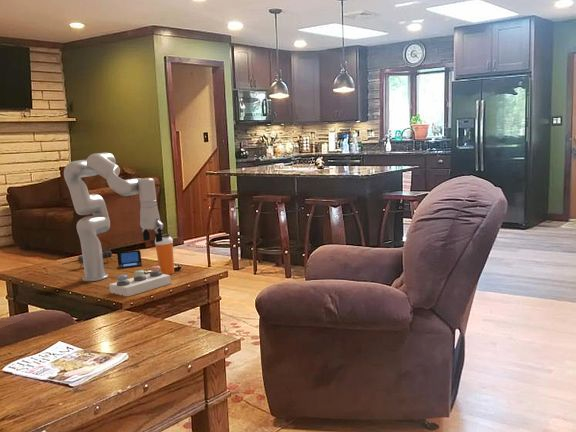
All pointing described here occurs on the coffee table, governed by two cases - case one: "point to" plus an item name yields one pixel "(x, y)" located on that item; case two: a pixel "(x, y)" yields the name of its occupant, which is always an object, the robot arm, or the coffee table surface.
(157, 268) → the button terracotta
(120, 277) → the button slate
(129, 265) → the object
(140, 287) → the button panel
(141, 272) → the button sage
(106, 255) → the bomb
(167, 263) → the shaker bottle
